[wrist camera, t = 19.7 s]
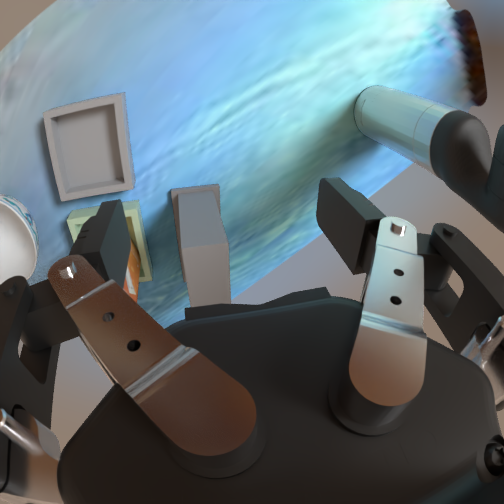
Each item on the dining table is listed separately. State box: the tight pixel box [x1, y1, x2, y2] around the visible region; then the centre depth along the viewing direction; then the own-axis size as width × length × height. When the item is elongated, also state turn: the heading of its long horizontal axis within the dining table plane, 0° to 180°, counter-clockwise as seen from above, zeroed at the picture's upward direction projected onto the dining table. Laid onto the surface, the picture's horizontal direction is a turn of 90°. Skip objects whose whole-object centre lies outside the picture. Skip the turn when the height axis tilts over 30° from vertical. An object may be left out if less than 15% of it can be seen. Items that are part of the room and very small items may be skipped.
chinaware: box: [0, 194, 39, 284], centre depth 34 cm, size 15×15×8 cm
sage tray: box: [67, 200, 153, 282], centre depth 44 cm, size 11×13×3 cm
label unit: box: [171, 184, 231, 307], centre depth 42 cm, size 7×17×15 cm, turn 0°
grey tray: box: [43, 92, 136, 202], centre depth 34 cm, size 11×13×3 cm
